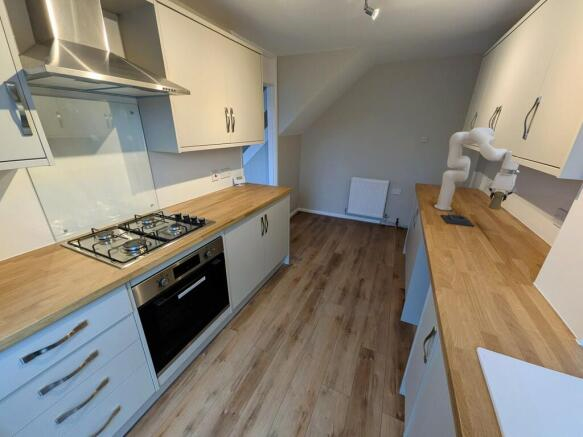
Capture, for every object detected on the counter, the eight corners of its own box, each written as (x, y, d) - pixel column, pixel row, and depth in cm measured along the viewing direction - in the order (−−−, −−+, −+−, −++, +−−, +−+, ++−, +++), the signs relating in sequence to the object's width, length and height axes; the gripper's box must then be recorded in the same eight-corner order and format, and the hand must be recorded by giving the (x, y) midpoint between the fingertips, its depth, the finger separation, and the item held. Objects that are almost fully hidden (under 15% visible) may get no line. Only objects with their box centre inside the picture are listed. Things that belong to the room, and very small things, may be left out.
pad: (441, 215, 181) (442, 212, 180) (465, 218, 176) (466, 214, 175) (446, 223, 166) (448, 219, 165) (473, 226, 162) (474, 222, 161)
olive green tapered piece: (502, 210, 150) (508, 193, 145) (491, 209, 151) (497, 192, 146) (496, 207, 155) (502, 190, 151) (486, 206, 156) (492, 190, 152)
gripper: (527, 173, 140) (515, 202, 147) (491, 168, 152) (481, 195, 159) (526, 174, 135) (513, 204, 143) (489, 170, 147) (479, 197, 154)
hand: (497, 199), depth 151 cm, fingers closed on olive green tapered piece, 5 cm apart
